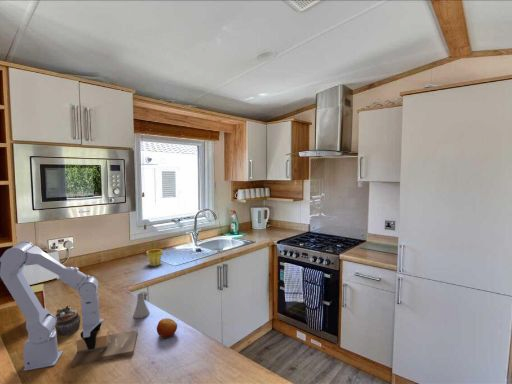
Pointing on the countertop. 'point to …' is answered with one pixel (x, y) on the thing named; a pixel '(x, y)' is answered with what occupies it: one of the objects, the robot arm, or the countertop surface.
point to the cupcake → (67, 321)
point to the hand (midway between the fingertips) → (93, 344)
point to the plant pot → (154, 256)
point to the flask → (141, 307)
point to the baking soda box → (39, 294)
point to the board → (110, 349)
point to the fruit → (166, 328)
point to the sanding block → (101, 341)
